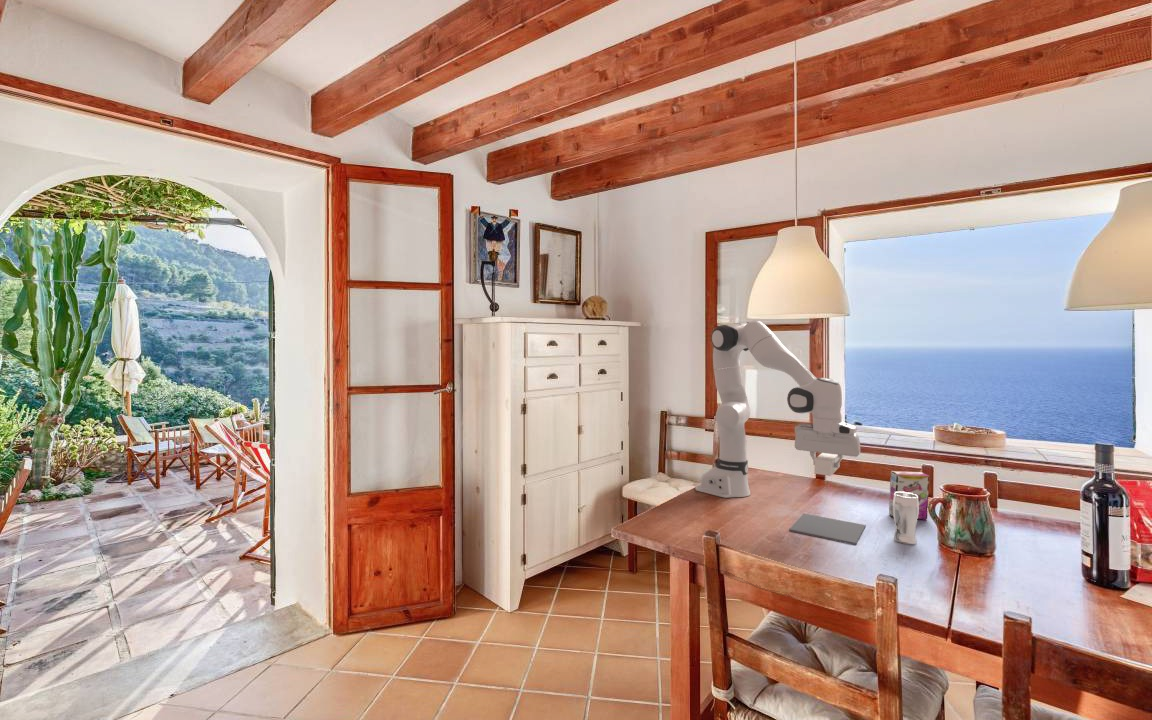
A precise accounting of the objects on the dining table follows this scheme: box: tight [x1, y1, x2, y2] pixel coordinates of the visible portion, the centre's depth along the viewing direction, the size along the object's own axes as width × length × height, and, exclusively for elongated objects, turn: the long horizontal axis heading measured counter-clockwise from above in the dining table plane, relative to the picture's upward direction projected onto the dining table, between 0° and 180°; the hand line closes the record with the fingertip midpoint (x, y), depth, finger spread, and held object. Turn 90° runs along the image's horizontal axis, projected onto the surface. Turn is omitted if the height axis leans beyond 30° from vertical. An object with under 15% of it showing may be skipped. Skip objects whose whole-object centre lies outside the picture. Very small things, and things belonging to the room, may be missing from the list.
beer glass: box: [893, 492, 919, 546], centre depth 165 cm, size 7×7×15 cm
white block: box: [813, 453, 839, 477], centre depth 177 cm, size 5×5×14 cm
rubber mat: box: [788, 513, 866, 546], centre depth 176 cm, size 20×20×1 cm
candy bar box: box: [888, 470, 930, 521], centre depth 187 cm, size 11×5×16 cm, turn 84°
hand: (826, 466), depth 176 cm, fingers closed on white block, 5 cm apart
